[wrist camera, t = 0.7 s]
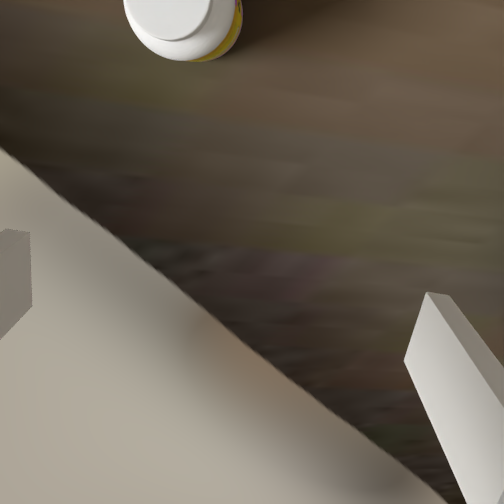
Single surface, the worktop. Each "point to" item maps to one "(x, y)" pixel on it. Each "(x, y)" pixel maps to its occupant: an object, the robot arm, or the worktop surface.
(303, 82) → the worktop surface
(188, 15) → the supplement bottle
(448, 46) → the worktop surface
